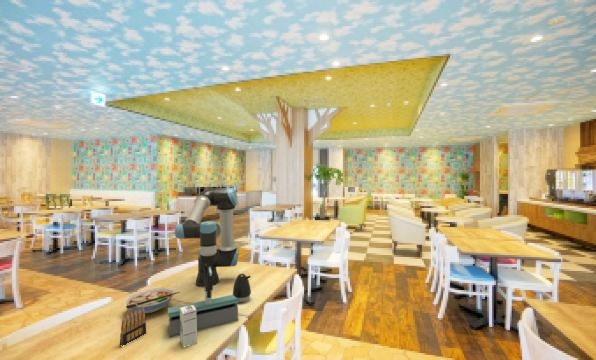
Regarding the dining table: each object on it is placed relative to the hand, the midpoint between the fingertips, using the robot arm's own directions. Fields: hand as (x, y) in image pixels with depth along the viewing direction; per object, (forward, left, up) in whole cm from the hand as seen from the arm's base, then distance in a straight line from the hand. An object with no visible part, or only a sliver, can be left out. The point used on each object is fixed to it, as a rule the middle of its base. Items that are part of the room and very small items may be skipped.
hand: (208, 303), depth 128 cm
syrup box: (+11, -10, -10) cm, 18 cm away
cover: (-2, -2, -2) cm, 3 cm away
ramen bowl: (-29, -25, -10) cm, 39 cm away
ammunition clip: (-2, -31, -10) cm, 32 cm away
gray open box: (-2, -2, -10) cm, 10 cm away
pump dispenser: (-17, +21, -10) cm, 29 cm away
